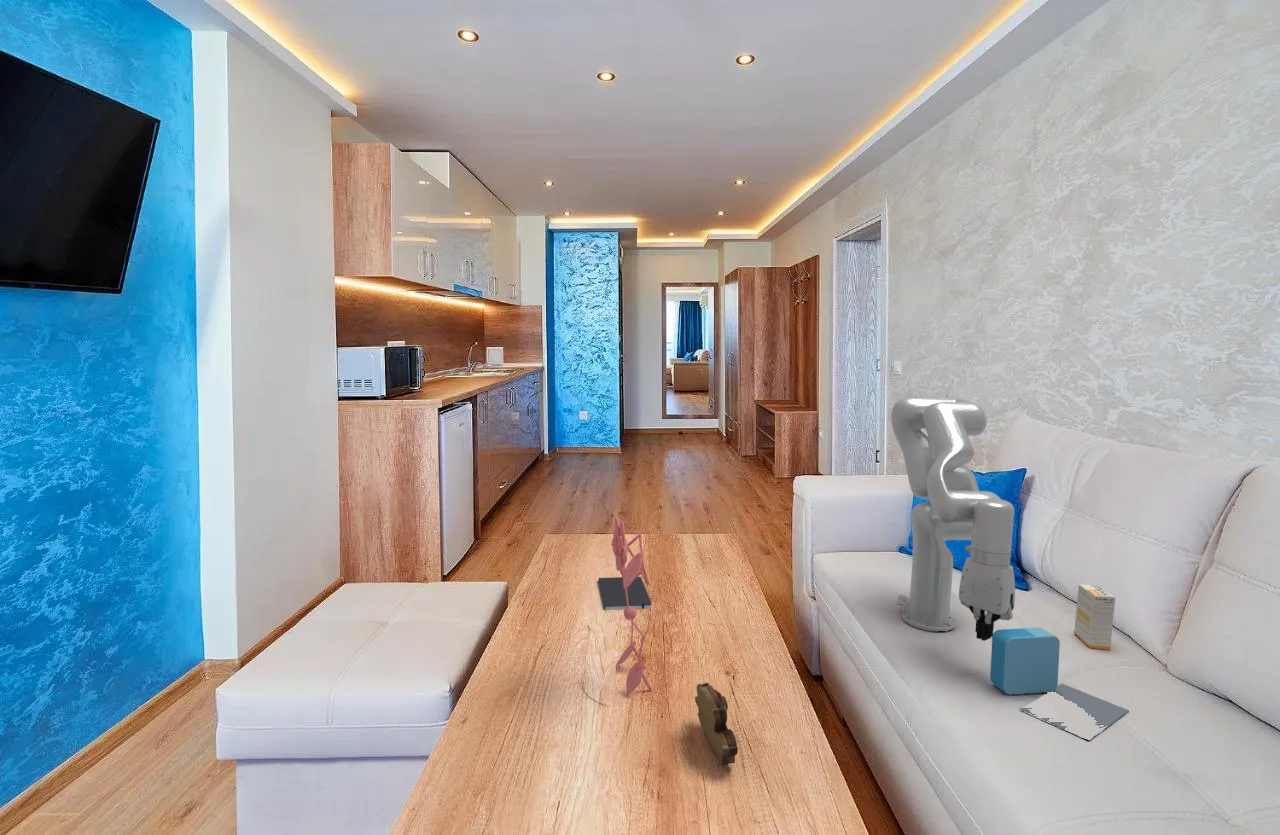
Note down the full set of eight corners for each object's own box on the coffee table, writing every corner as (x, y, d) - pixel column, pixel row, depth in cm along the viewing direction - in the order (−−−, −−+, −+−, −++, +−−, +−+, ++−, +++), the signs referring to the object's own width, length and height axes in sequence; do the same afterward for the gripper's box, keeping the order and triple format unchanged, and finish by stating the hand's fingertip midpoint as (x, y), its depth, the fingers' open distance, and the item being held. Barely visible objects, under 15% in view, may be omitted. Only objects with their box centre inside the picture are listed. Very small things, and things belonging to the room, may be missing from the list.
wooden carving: (747, 773, 106) (749, 716, 105) (721, 778, 104) (723, 720, 103) (708, 718, 121) (710, 667, 120) (686, 721, 120) (687, 670, 119)
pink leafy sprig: (643, 649, 148) (643, 500, 144) (662, 713, 123) (662, 534, 119) (576, 654, 146) (574, 503, 142) (581, 719, 121) (579, 538, 117)
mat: (1019, 710, 126) (1019, 708, 126) (1061, 684, 136) (1061, 683, 136) (1088, 741, 116) (1088, 740, 116) (1128, 711, 126) (1129, 710, 126)
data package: (1041, 681, 137) (1044, 626, 136) (1057, 692, 132) (1060, 635, 131) (989, 684, 135) (991, 629, 135) (1004, 695, 131) (1006, 638, 130)
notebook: (598, 582, 191) (604, 612, 170) (598, 577, 191) (604, 606, 170) (640, 581, 193) (652, 610, 172) (640, 576, 193) (652, 604, 172)
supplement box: (1111, 650, 152) (1117, 597, 151) (1088, 648, 153) (1094, 595, 152) (1094, 635, 160) (1099, 584, 159) (1072, 633, 161) (1077, 583, 160)
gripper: (947, 550, 142) (941, 629, 144) (1017, 569, 130) (1010, 656, 132) (965, 544, 147) (960, 622, 149) (1035, 563, 134) (1028, 647, 136)
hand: (983, 638), depth 140 cm, fingers closed
